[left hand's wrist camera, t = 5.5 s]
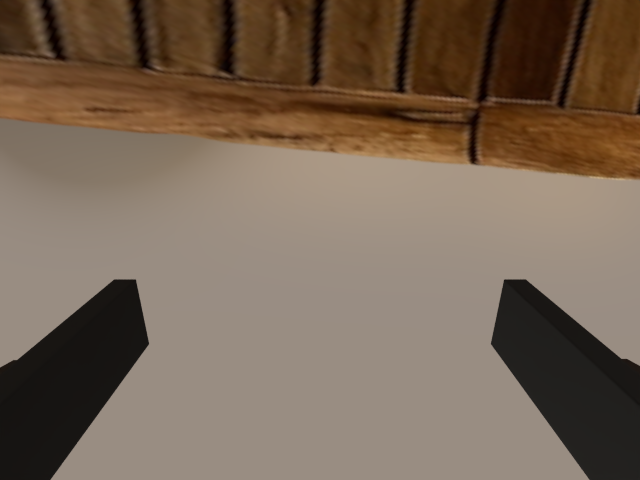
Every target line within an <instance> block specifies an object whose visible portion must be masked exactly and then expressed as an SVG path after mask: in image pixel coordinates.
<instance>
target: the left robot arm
mask: <svg viewBox="0 0 640 480" xmlns="http://www.w3.org/2000/svg"><path fill="white" fill-rule="evenodd" d="M148 345H149V342H148V337H147V332H146V327H145V322H144V317H143V312H142V307H141V302H140V298H139V293H138V288H137V283H136V280H113V281H112V282H111V283H110V284H108V285H107V286H106V287H105V288H104V289H102V290H101V291H100V292H99V293H98V294H96V295H95V296H94V297H93V298H91V299H90V300H89V301H88V302H87V303H85V304H84V305H83V306H82V307H81V308H79V309H78V310H77V311H76V312H75V313H73V314H72V315H71V316H70V317H69V318H67V319H66V320H65V321H64V322H63V323H61V324H60V325H59V326H58V327H57V328H55V329H54V330H53V331H52V332H51V333H49V334H48V335H47V336H46V337H45V338H43V339H42V340H41V341H40V342H38V343H37V344H36V345H35V346H34V347H33V348H31V349H30V350H29V351H28V352H26V353H25V354H24V355H23V356H22V357H20V358H19V359H18V360H13V361H11V362H9V363H8V364H6V365H4V366H2V367H0V480H51V478H52V477H53V475H54V474H55V473H56V471H57V470H58V469H59V467H60V466H61V464H62V463H63V462H64V460H65V459H66V458H67V456H68V455H69V453H70V452H71V451H72V449H73V448H74V447H75V445H76V444H77V442H78V441H79V440H80V438H81V437H82V435H83V434H84V433H85V431H86V430H87V429H88V427H89V426H90V425H91V423H92V422H93V420H94V419H95V418H96V416H97V415H98V414H99V412H100V411H101V409H102V408H103V407H104V405H105V404H106V402H107V401H108V400H109V398H110V397H111V396H112V394H113V393H114V391H115V390H116V389H117V387H118V386H119V384H120V383H121V382H122V380H123V379H124V378H125V376H126V375H127V374H128V372H129V371H130V369H131V368H132V367H133V365H134V364H135V363H136V361H137V360H138V358H139V357H140V356H141V354H142V353H143V352H144V350H145V349H146V347H147V346H148ZM491 345H492V346H493V347H494V349H495V350H496V352H497V353H498V354H499V356H500V357H501V358H502V360H503V361H504V363H505V364H506V365H507V367H508V368H509V369H510V371H511V372H512V374H513V375H514V376H515V378H516V379H517V380H518V382H519V383H520V385H521V386H522V387H523V389H524V390H525V391H526V393H527V394H528V396H529V397H530V398H531V400H532V401H533V402H534V404H535V405H536V406H537V408H538V409H539V411H540V412H541V414H542V415H543V416H544V418H545V419H546V420H547V422H548V423H549V424H550V426H551V427H552V429H553V430H554V431H555V433H556V434H557V435H558V437H559V438H560V440H561V441H562V442H563V444H564V445H565V447H566V448H567V449H568V451H569V452H570V453H571V455H572V456H573V457H574V459H575V460H576V462H577V463H578V464H579V466H580V467H581V469H582V470H583V471H584V473H585V474H586V475H587V477H588V478H589V480H640V366H639V365H637V364H635V363H633V362H631V361H630V360H628V359H621V358H620V357H618V356H617V355H616V354H615V353H614V352H612V351H611V350H610V349H609V348H608V347H606V346H605V345H604V344H603V343H602V342H600V341H599V340H598V339H597V338H595V337H594V336H593V335H592V334H591V333H589V332H588V331H587V330H586V329H585V328H583V327H582V326H581V325H580V324H579V323H577V322H576V321H575V320H574V319H573V318H571V317H570V316H569V315H568V314H567V313H565V312H564V311H563V310H562V309H561V308H559V307H558V306H557V305H556V304H555V303H553V302H552V301H551V300H550V299H549V298H547V297H546V296H545V295H544V294H543V293H541V292H540V291H539V290H538V289H536V288H535V287H534V286H533V285H532V284H530V283H529V282H528V281H527V280H504V283H503V288H502V293H501V298H500V303H499V308H498V312H497V317H496V322H495V327H494V332H493V336H492V341H491Z"/></svg>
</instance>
